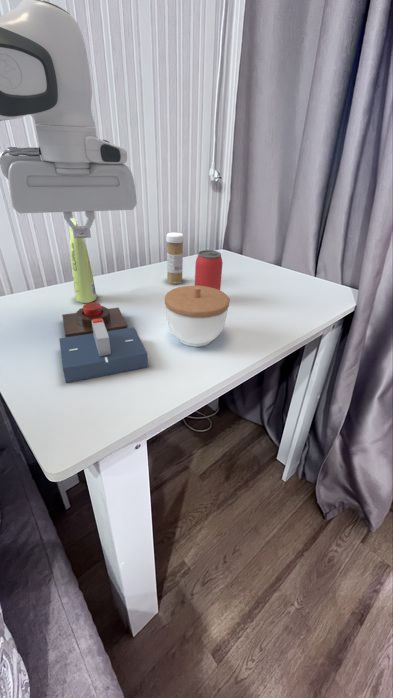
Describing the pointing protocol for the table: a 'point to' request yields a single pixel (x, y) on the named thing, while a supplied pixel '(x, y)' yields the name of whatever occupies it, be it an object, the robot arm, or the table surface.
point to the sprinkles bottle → (174, 257)
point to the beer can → (208, 269)
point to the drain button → (92, 309)
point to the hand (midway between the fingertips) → (82, 237)
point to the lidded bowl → (196, 314)
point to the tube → (81, 269)
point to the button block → (83, 325)
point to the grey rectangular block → (101, 337)
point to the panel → (87, 363)
